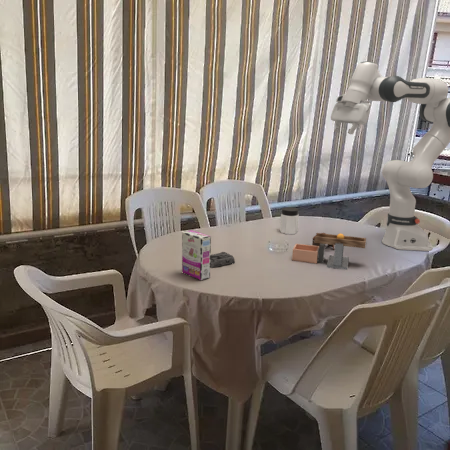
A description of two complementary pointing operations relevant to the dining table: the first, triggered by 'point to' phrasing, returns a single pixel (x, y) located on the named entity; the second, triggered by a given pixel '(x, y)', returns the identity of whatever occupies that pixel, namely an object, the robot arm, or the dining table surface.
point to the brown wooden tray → (340, 240)
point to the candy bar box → (196, 254)
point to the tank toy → (221, 259)
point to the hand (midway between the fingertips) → (343, 133)
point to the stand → (334, 257)
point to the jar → (289, 220)
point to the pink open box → (305, 253)
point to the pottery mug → (319, 243)
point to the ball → (340, 236)
